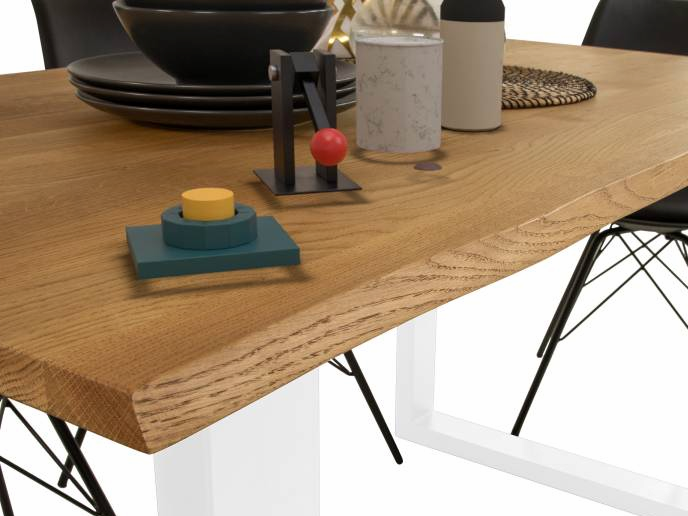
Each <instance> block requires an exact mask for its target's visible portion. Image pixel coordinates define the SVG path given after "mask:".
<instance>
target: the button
mask: <svg viewBox="0 0 688 516" xmlns="http://www.w3.org/2000/svg"><path fill="white" fill-rule="evenodd" d="M234 195H235V194H234V192H233V191H232V190H230V189H226V188H221V187H201V188H193V189H189V190H186V191H184V192H182V194H181V205H182V210H183V218H184V219H188V220H197V221H213V220H223V219H227V218H231V217H234V216H235V213H234V202H235V197H234Z"/></svg>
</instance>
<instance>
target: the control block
mask: <svg viewBox="0 0 688 516" xmlns="http://www.w3.org/2000/svg"><path fill="white" fill-rule="evenodd" d="M234 213H235V216H234V217H231V218H227V219H223V220H213V221H197V220H188V219H184V218H183V210H182V204H178V205H174V206H171V207H169V208H167V209H166V210H164V211H162V212H161V213H160V222H161V223H159V224H158V223H157V224H146V225H133V226H125V239H126V245H127V247H128V251H129V254H130V257H131V260H132V263H133V266H134V269H135V273H136V275H137V278H138V280H139V281H140V280H152V279H161V278H172V277H182V276H183V277H184V276H193V275H204V274H215V273H223V272H233V271H243V270H245V271H246V270H255V269H256V270H257V269H266V268H267V269H268V268H276V267H286V266H296V265H297V266H298V265H301V249H300V247H299V245H298V244H297V243H296V241H294V239H293V238H292V237H291V236H290V235H289V234H288V233H287V231H286V230H285V229H284V228H283V226H282V225H281V224H280V223H279V221H277V219H276V218H275V217H274V215H261V216H260V215H259V216H257V211H256V210H255V209H254V208H253V207H252V206H250V205H246V204H242V203H238V202H235V201H234Z"/></svg>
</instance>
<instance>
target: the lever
mask: <svg viewBox="0 0 688 516" xmlns="http://www.w3.org/2000/svg"><path fill="white" fill-rule="evenodd" d="M288 54H290V55H291V56H292V87H293V94H299V93H301V94H302V96H303V98H304V102H305V105H306V108H307V111H308V114H309V117H310V120H311V122H312V123H311V124H312V125H313V128H314V134H313V135H312V138H311V140H310V144H309V150H310V154H311V156H312V158H313V159H314V160H316V161H317V162H318V163H320V164H322V165H325V166H334V165H337V166H338V164H341V162H343V161H344V159H345V158H346V156H347V155H348V150H349V143H348V140H347V138H346V136H345V135H344V134H343V132H341V131H340V130H338V129H337V130H336V129H333V128H330V125H329V122H328V119H327V117H326V114H325V111H324V108H323V105H322V103H321V100H320V97H319V94H318V91H317V86H318V79H319V72H320V71H319V68H318V66H317V63H316V60H315V57H314V55H313V51H300V52H299V51H294V52H291V51H290V52H289V53H288ZM315 132H316V133H315Z"/></svg>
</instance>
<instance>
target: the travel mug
mask: <svg viewBox="0 0 688 516" xmlns="http://www.w3.org/2000/svg"><path fill="white" fill-rule="evenodd" d="M505 20H506V6H505V4H504V2H503V0H442V1H441V3H440V6H439V38H440V39H443V41H444V43H443V55H442V104H441V127H442V128H444V129H448V130H452V131H458V132H486V131H491V130H495V129H497V128H498V127H500V126H501V123H502V98H503V77H504V76H503V73H504V50H505V49H504V48H505V25H506V21H505Z"/></svg>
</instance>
